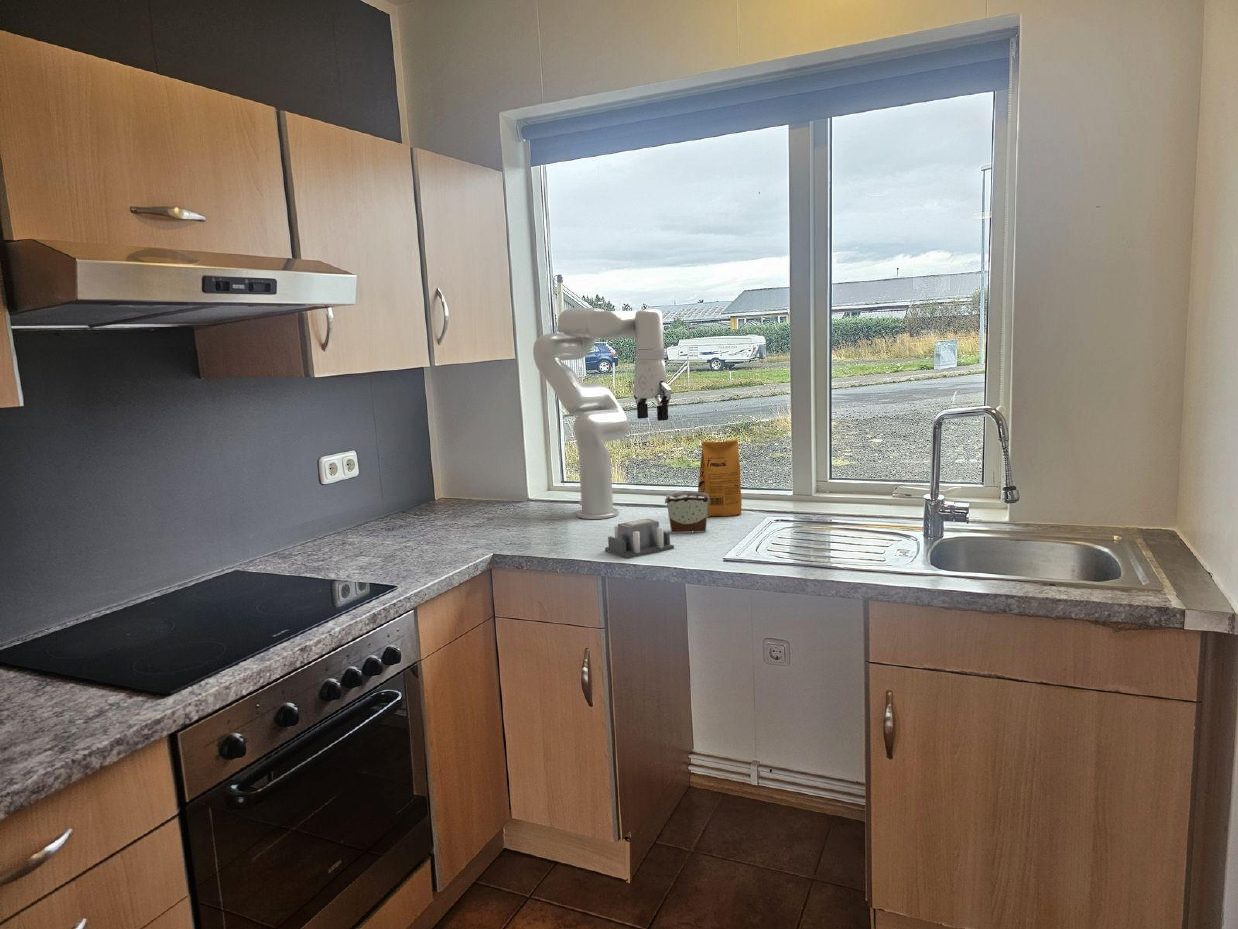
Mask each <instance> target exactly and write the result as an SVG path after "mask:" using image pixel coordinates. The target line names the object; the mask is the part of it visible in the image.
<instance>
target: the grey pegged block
mask: <svg viewBox="0 0 1238 929" xmlns="http://www.w3.org/2000/svg"><path fill="white" fill-rule="evenodd" d="M613 527H614V528H613V529H614V536H608V537H607V542H608V543H607V544H608V546H606V547H604V551H605V552H608V551H609V552H608V553H610V552H611V554H613V553H614V554H613V555H615V556H618V555H620V556H619V557H621V556H622V557H621V558H624V559H626V558H627V559H632V558H635V556H636V557H640V556H639V555H641V556H646V555H649V554H650V555H651V554H654V553H660V552H664V551H665V552H666V551H669V550H674V549H675V545H673V544H671V535H670V534H671V533H670V532H668V531H665V530H664V527H663V526H659V527H657V546H653V547H648V548H643V549H640V534H639V532H638V531H635V532H633V547H634V551H627V550H626V541H623V540H620V539H618V525H614V526H613ZM631 557H632V558H631Z"/></svg>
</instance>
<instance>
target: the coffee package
mask: <svg viewBox="0 0 1238 929" xmlns="http://www.w3.org/2000/svg"><path fill="white" fill-rule="evenodd" d="M701 443H702V444H701V447H702V450H701V458H700V462H699V463H700V468H699V475H698V476H699V477H698V478H699V479H698V484H697V486H698V487H697V492H700V493H706V494H708V496H709V498H710V502H711V503H710V502H709V501H708V512H707V518H710V517H711V516H712V517H723V516H726V517H731V516H730V515H734V516H738V515H737V514H740V515H741V514H742V505H743V504H742V490H741V489H742V488H741V465H740V464H741V463H740V456H739V440H738V438H734V439H730V440H724V441H709V440H701Z"/></svg>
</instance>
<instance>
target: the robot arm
mask: <svg viewBox="0 0 1238 929" xmlns="http://www.w3.org/2000/svg"><path fill="white" fill-rule="evenodd" d="M663 319H664V318H663V313H662V311H661V310H660V309H655V308H653V309H640V310H604V309H602V308H600V307H599V308H598V307H570V308H567V309H565V310H563V311H562V312H561V313H560V314H559V316H558V319H557V326H558V328H559V330H560V332H556V333H555V332H553V333H547V334H543V335H540V336H539V337H538V338H537V339H536V340H535V341H534V343H533V350H532V355H533V360H534V363H535V366H536V368H537V370H538V372H539V373H540V374H541V375H542V376H543V378H544V379H545V380H546V382H547V383H548V384H549V385H550V387H551V388H552V390H553V392H554V393H555V394H556V397H557V398H558V400H559V401H560V403H561V404H562V406H563V408H564V409H565V411H566V412H567V413H568V414H569V415H571V416H574V417H575V420H574V423H573V432H574V433H573V434H574V438H575V441H576V444H577V446H576V447H577V451H578V452H577V453H578V464H579V466H578V467H579V483H580V498H581V499H580V500H579V501H578V504H579V505H580V506H581V509H580V510H578V511H577V512H576V516H577V518H580V519H582V520H583V519H584V520H601V519H602V520H603V519H609V518H614V517H616V516H617V515H619V509H618V508H615V507H614V501H613V499H614V498H613V496H614V495H613V480H612V462H611V461H612V460H611V454H610V451H609V449H608V448H607V447H606V445H605V442H611V441H617V440H621V439H623V438H625V437H626V436H627V435H628V433H629V430H630V421H629V418H628V416H627V413H626V412H625V411H624V409H623V407H622V406H621V404H620V402H619V401H618V400H617V398H616V397H615V395H614V393H613V392H612V391H611V389H610V388H609V387H608V386H606V385H605V384H603V383H601V382H600V383H599V382H593V383H591V382H590V383H585V382H582V381H581V380H580V377H578V375H577V373H576V372H575V371H574V370H573V369H572V368H571V367H570V366H569V365H567V364H566V363H564V362H562V361H577V360H581V359H583V358H585V357H586V356H587V355H588V354H589V352H590V351H591V350H592V348H593V347H594V346H595V344H596V343H597V341H598V340H599V339H602V340H603V339H604V340H605V339H607V340H618V339H620V340H621V339H635V357H636V358H635V359H636V360H635V364H634V376H633V377H634V378H633V387H632V392H633V395H634V396H633V398H634V400H635V405H636V412H637V414H636V415H637V419H640V420H641V419H648V417H649V406H648V403H647V401H648V399H650V400H651V399H655V401H656V402H657V404H658V405H657V406H656V416H657V418H656V419H657V421H660V422H661V421H667V420H669V405H670V400H671V395H672V392H673V390H672V388H671V387H670V386H669V385H668V379H667V371H666V365H665V349H664V345H665V344H664V325H663V324H664V323H663V322H664V320H663Z"/></svg>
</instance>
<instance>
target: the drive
mask: <svg viewBox="0 0 1238 929" xmlns="http://www.w3.org/2000/svg"><path fill="white" fill-rule="evenodd" d="M617 526H618V539H620V540H623V541H626V550H627V551H634V547H633V532H635V531H638V532H639V534H640V549H643V548H648V547H653V546H657V527H660V521H658V520H655V519H650V518H645V519H638V520H633V521H626V522H622V523H618V524H617Z"/></svg>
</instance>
